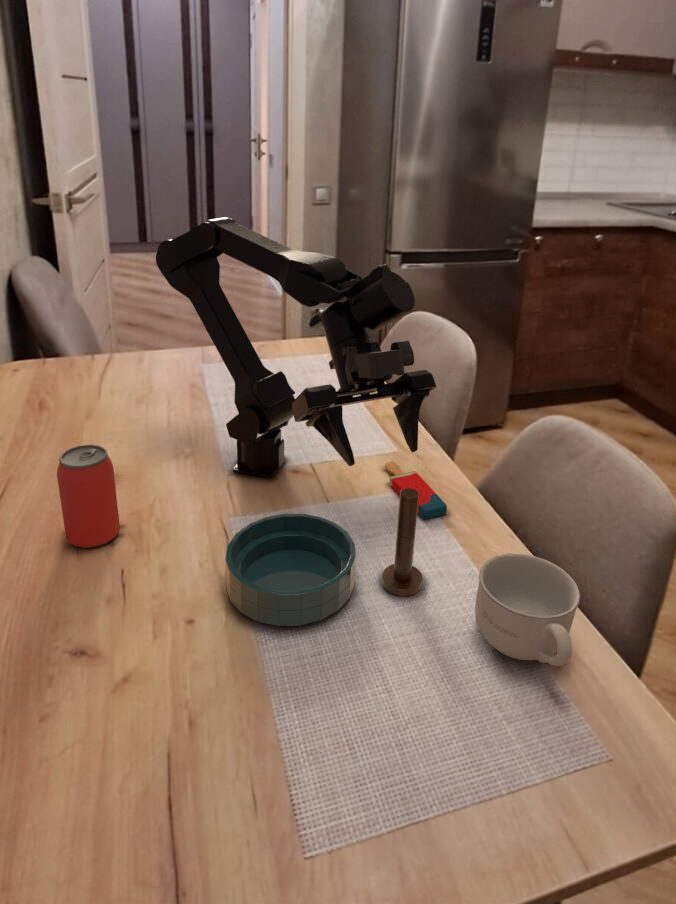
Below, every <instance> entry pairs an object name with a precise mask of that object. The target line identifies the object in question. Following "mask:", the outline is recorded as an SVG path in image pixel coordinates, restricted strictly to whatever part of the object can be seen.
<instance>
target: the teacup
mask: <svg viewBox="0 0 676 904" xmlns="http://www.w3.org/2000/svg"><path fill="white" fill-rule="evenodd" d="M580 602H581V593H580V590H579V587H578V585H577V583H576V581H575V580H574V579H573V577H572V576H571V575H570V574H569V573H568V572H566V571H565V570H564V569H562V567H560V566H558V565H557V564H555V563H553V562H552V561H549V560H546V559H544V558H541V557H538V556H536V555H531V554H525V553H515V552H514V553H513V552H507V553H503V554H497V555H495V556H492V557H490V558H488V559H487V560H485V562H484V563H483V564H482V566H481V567H480V570H479V573H478V585H477V590H476V598H475V605H474V618H475V622H476V626H477V628H478V630H479V633H480V634H481V636H482V637H483V639H485V640H486V642H487V643H489V645H490V646H492V647H493V648H494V649H496V651H498V652H500V653H501V654H503V655H505V656H506V657H509V658H511V659H516V660H519V661H538V662H540V663H542V664H543V663H544V664H549V665H552V666H557V667H559V666H563V665H566V664H568V663H569V662H570V660H571V659H572V655H573V643H572V639H571V636H570V631H571V628H572V626H573V622H574V618H575V614H576V611H577V609H578V607H579V605H580Z"/></svg>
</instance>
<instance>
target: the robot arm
mask: <svg viewBox="0 0 676 904" xmlns="http://www.w3.org/2000/svg"><path fill="white" fill-rule="evenodd" d="M222 255H226V256H228V257H230V258H232V259H234V260H236V261H239V262H241V263H242V264H244V265H247V266H248V267H250V268H252V269H254V270H256V271H258V272H260V273H262V274H264V275H267V276H269V277H270V278H271V279H274V280H275V281H276V282H278V283H279V285H280V287H281V289H282V291H283V292H284V293H285V294H287V296H290V298H292V299H293V300H295V301H296V302H298V303H299V304H300V305H302V306H304V307H307V308H312V307H316V306H319V305H322V304H327V305H329V304H330V305H329V306H327V307H326V308H321V307H317V308H315V312H314V314H313V316H312V317H311V318H310V321H309V324H308V325H309V327H310V328H315V329H323V333H324V336H325V339H326V343H327V346H328V350H329V353H330V357H331V359H330V361H329V362H328V365H329V369H330V370H335V375H336V378H337V381H338V384H339V388H338V390H336V388H335V386H333V384H331V383H330V384H329V383H328V384H323V385H315V386H310V387H309V386H308V387H305V388H304V389H303V390H302V391H301V392H300V393H299V395H297V397H295V395H296V391H295V390H293V388H292V387H291V386H290V384H289V382H288V379H287V377H286V376H287V375H285V373H284V372H283V371H281V370H280V371H277V372H275V373H274V372H272V371H271V370H270V369H268V368H266V367H265V365H264V364H263V362H262V360H261V358H260V357H259V354H258V353H257V351H256V349H255V348H254V345H253V343H252V342H251V340H250V339H249V336H248V335H247V333H246V331H245V329H244V327H243V325H242V323H241V321H240V320H239V318H238V316H237V314H236V313H235V311H234V309H233V307H232V304H231V303H230V301H229V299H228V298H227V295H226V294H225V293H224V290H223V288H222V286H221V284H220V281H221V280H220V278H221V274H220V273H221V270H220V269H221V265H220V262H219V259H218V258H219V257H221V256H222ZM155 263H156V266H157V268H158V270H159V272H160V273H161V274H162V276H163V277H164V279H165V280H166V281H167V283H168V285H169V286H170V288H172V289H174V290H176V291H177V292H178V293H180V294H181V295H183V296H184V297H186V298H187V299H188V300H189V301H190V302H191V304H192V306H193V308H194V310H195V312H196V313H197V315H198V318H199V319H200V321H201V323H202V325H203V327H204V329H205V330H206V332H207V334H208V336H209V337H210V339H211V341H212V343H213V345H214V346H215V348H216V351H217V352H218V354H219V356H220V357H221V360H222V362H223V363H224V365H225V367H226V369H227V371H228V372H229V374H230V376H231V378H232V380H233V382H234V405H235V407H236V410H237V414H236V415H235V416H234V417H232V418H231V419H230V420H229V421H227V423H226V424H225V426H226V430H227V433H228V437H230V438H231V439H234V440H236V463H235V464H234V466H233V467H232V472H233V473H236V474H237V473H238V474H243V475H249V476H256V477H261V478H266V479H271V478H273V477H274V475H275V474H276V473H277V471H278V470H279V469H280V468H281V467H282V466H283V463H284V462H285V460H286V456H285V439H284V438H282V428H284V427H287V426H288V425H289V422H290V420H291V419H292V418H293V419H294V422H296V423H301V422H305V426H306V427H307V428H310V427H313V428H314V429H315V430H316V431H317V432H318V433H319V434H320V435H321V436H322V437H323V438H324V439H326V440H327V442H328V443H329V444H330V445H331V446H332V447H333V450H335V451H336V452H337V453H338V455H339V456H340V457H341V458H342V460H343V461H344V463H346V465H347V466H348V467H353V466H354V465H355V464H356V461H355V456H354V452H353V449H352V446H351V442H350V440H349V437H348V434H347V431H346V427H345V424H344V421H343V406H348V405H355V404H360V403H366V402H371V401H377V400H384V399H388V398H390V399H391V401H392V402H394V403H395V404H396V405H395V406H393V407H392V411H393V412H394V416H395V417H396V420H397V422H398V425H399V427H400V431H401V433H402V435H403V438H404V441H405V443H406V445H407V447H408V448H409V450H410V452H411V453H415V452H417V451H418V449H419V447H418V446H419V421H420V419H419V418H420V412H421V406H422V404H423V402H424V400H426V398H428V397H430V394H431V393H430V392H432V391H434V390H435V389H436V388H437V383H436V380H435V377H434V375H433V374H432V373H431V372H430V371H429V370H427V369H421V370H415V371H409V372H405V367H409V366H410V367H411V366H414V364H415V354H414V350H413V347H412V345H411V343H410V341H409V340H402V341H396V342H391V343H390V349H389V350H382V349H381V345H380V344H379V342H378V341H375V342H373V340H372V338H371V334H370V331H369V330H372V331H380V330H381V329H383V328H385V327H386V326H388V325H390V324H391V323H393V322H394V321H397V320H398V319H400V318H401V317H403V316H405V315H407V314H408V313H409V312H412V310H414V309H415V305H416V304H415V303H416V300H415V299H416V298H415V294H414V291H413V288H412V287H411V285H410V283H409V282H407V281H406V280H405V279H404V278H403V277H402V276H401V275H399V274H398V273H396V272H394V271H392V270H391V268H390V267H389V265H388V264H387V263H384V264H381V265H378V266H376V267H375V268H374V269H372V270H371V271H370V272H369V273H368V275H366V276H365V277H364V276H362V275H360V274H359V273H356V272H355V271H353V270H351V269H349V268H347V267H346V264H345V263H344V262H343V261H342V260H341V259H339V258H338V257H335V256H332V255H327V254H324V253H319V252H311V251H301V250H298V249H297V250H296V249H293V248H290V247H289V246H286V245H284V244H282V243H280V242H278V241H275V240H274V239H271V238H269V237H267V236H265V235H263V234H261V233H258V232H256V231H254V230H252V229H250V228H247V227H245V226H244V225H241V224H239V223H237V221H235V220H234V219H233V218H230V217H226V216H225V217H218V218H212V219H206V220H204V221H202V223H199V224H198V225H197V226H196V227H195V228H192V229H191V230H189V231H187V232H185V233H182V234H180V235H178V236H177V237H173V238H172V239H166V240H163V241H162V242H160V243H159V245H158V247H157V251H156V254H155ZM344 299H346V300H345V301H344V302H343V301H342V300H344ZM393 375H394V376H395V375H396V376H399V377H398V378H397V379H395V380H394V381H393V382H387V383H385V382H386V381H390V380H391V379H393V377H394V376H393Z"/></svg>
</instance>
